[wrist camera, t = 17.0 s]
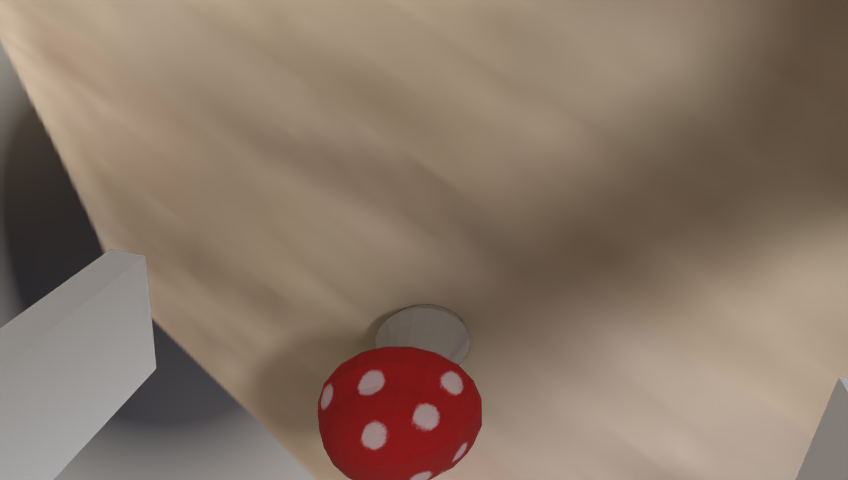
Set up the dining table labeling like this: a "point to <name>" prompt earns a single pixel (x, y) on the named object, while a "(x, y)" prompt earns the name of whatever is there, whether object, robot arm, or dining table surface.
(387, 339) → the decorative mushroom
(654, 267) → the dining table surface
